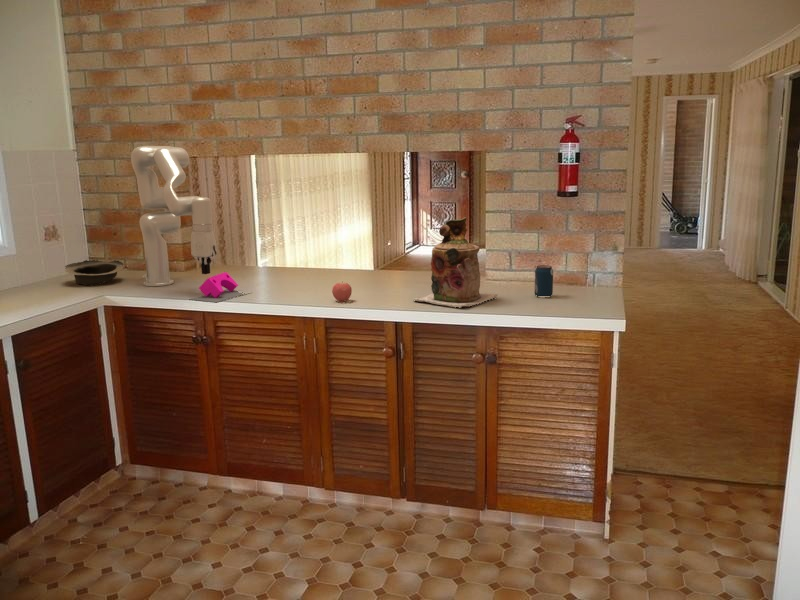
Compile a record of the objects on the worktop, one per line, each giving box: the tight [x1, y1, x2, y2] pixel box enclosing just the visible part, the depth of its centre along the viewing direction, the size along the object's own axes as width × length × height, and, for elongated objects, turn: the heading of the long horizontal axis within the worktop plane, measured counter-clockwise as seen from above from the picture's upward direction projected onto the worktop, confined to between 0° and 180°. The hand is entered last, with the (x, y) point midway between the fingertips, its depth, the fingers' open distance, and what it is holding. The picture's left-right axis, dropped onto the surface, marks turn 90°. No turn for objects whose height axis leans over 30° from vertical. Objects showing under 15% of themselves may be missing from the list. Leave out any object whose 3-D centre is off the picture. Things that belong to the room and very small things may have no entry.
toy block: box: [198, 271, 239, 298], centre depth 284 cm, size 15×6×8 cm
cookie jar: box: [412, 216, 499, 309], centre depth 265 cm, size 25×25×32 cm
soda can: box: [534, 264, 554, 297], centre depth 272 cm, size 7×7×12 cm
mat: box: [188, 288, 245, 303], centre depth 283 cm, size 14×22×1 cm, turn 153°
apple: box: [331, 280, 352, 303], centre depth 269 cm, size 7×7×8 cm
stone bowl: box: [64, 259, 124, 286], centre depth 317 cm, size 25×25×9 cm
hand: (206, 273), depth 284 cm, fingers closed
